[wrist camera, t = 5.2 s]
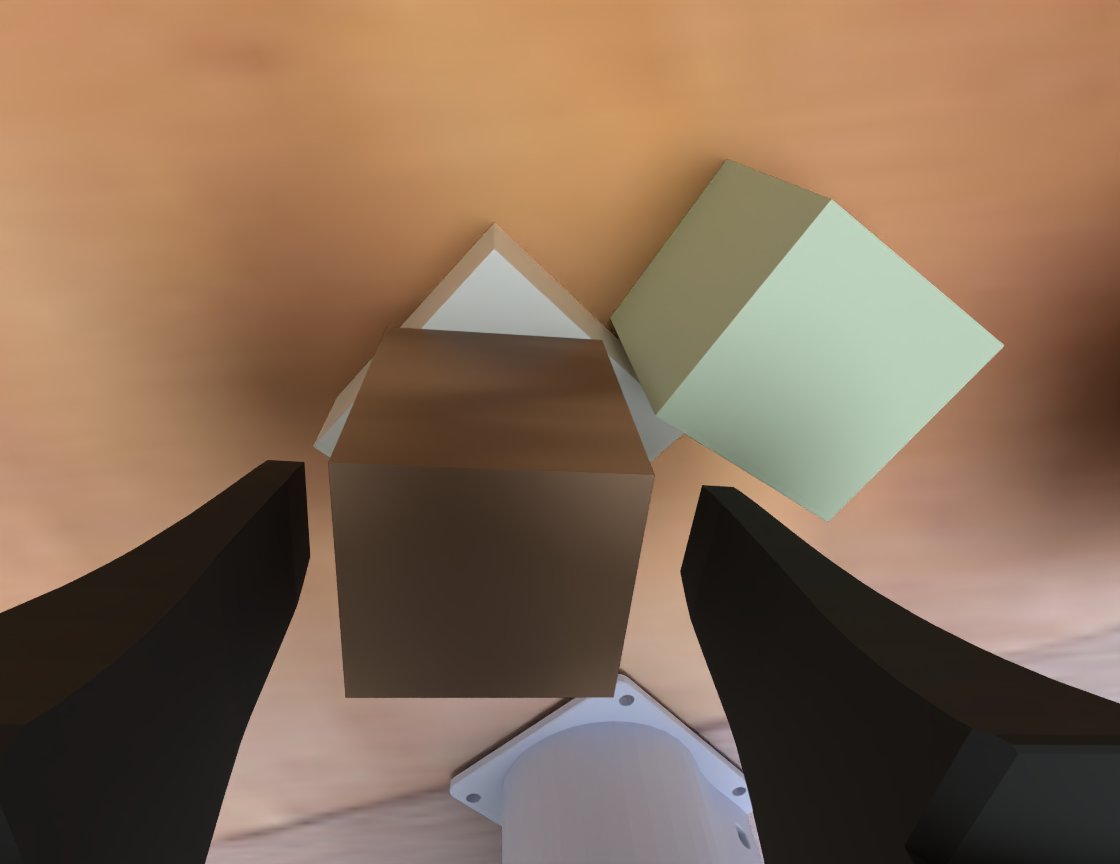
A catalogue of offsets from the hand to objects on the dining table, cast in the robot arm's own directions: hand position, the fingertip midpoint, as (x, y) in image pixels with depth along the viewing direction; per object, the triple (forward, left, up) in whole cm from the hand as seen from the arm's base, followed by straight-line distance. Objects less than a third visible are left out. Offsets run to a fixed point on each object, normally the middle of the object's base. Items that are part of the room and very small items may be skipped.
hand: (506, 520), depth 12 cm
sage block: (-2, -6, -6) cm, 9 cm away
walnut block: (0, 0, -3) cm, 3 cm away
